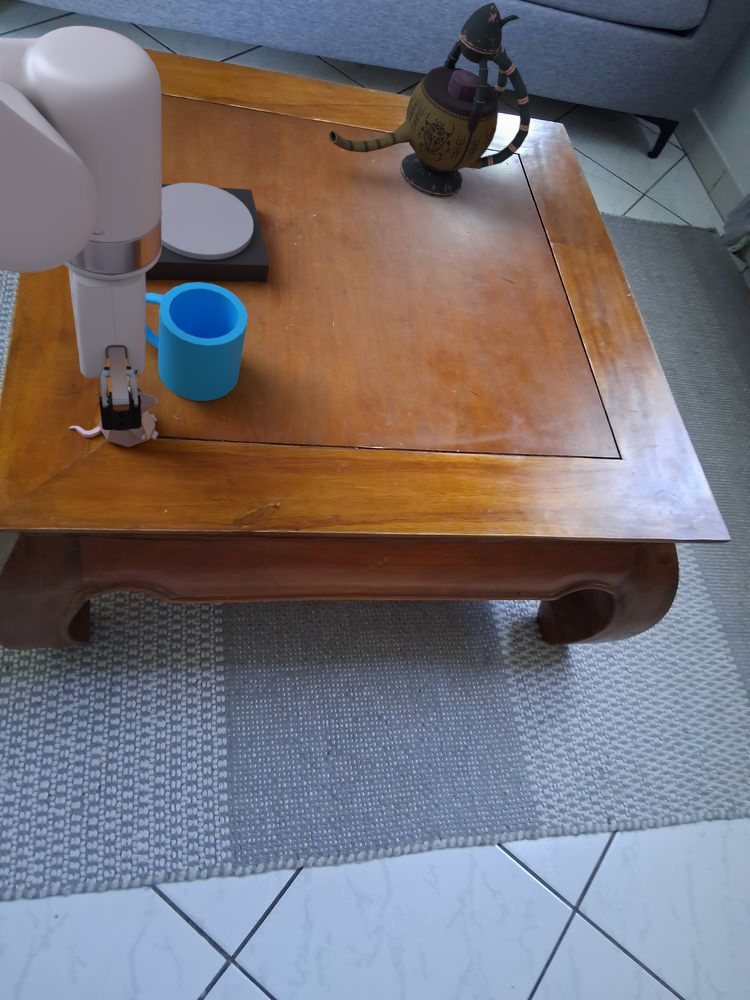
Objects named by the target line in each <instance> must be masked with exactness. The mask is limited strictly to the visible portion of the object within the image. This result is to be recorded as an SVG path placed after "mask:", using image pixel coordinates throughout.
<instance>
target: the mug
mask: <svg viewBox="0 0 750 1000" xmlns="http://www.w3.org/2000/svg"><path fill="white" fill-rule="evenodd" d="M146 304H153V305H159V312H158V314H159V316H158V334H157V333H155V332H154V330H153V329H151V327H150V326H149V325H148V324H147V323H146V341H147V342H148V343H150V344H151V345H152V346H153V347H154V348H155V349H158V351H157V371H158V372H157V373H158V376H159V378H160V380H161V382H162V383H163V384H164V385H165V387H166V389H168V390H169V391H170V392H172V393H174V395H176V396H178V397H181V398H183V399H187V400H189V401H196V402H198V401H199V402H208V401H214V400H215V401H216V400H218V399H220V398H222V397H225V396H226V395H228V394H229V393H230V392H231V391H233V389H234V388H235V387H236V385H237V382H238V381H239V377H240V370H241V363H242V357H243V350H244V345H245V339H246V334H247V333H246V332H247V326H248V312H247V310H246V307H245V305H244V303H243V302H242V301H241V300H240V299H239V297H238V296H237V295H235V294H234V293H233V292H232V291H230V290H228V289H227V288H226V287H222V286H221V285H216V284H214V283H208V282H201V281H196V282H186V283H182V284H180V285H177V286H174V287H173V288H171V289H170V290H169V291H167V292H166V293H165V294H162V293H161V294H160V293H156V292H146Z"/></svg>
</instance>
